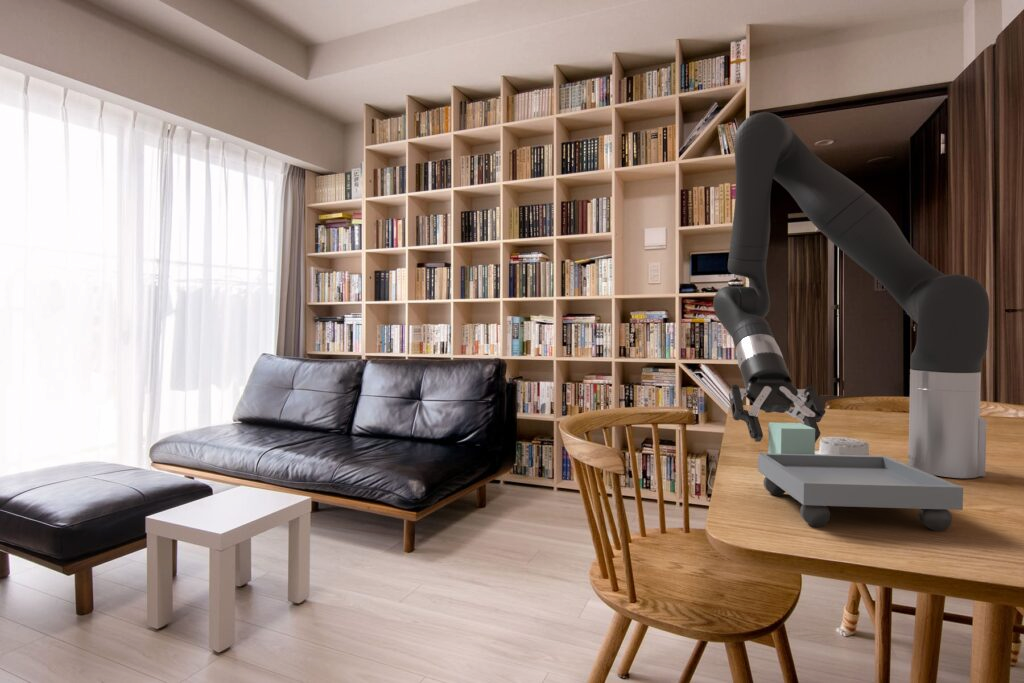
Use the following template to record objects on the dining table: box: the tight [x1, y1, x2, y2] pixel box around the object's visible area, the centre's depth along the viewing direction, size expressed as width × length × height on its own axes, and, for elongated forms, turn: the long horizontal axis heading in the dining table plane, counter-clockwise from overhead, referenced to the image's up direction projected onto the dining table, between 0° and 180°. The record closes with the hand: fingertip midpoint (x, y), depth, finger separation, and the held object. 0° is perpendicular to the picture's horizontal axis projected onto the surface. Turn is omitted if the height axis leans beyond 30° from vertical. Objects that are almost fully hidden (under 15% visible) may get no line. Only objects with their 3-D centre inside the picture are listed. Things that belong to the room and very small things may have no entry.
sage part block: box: [767, 421, 816, 454], centre depth 83 cm, size 5×5×9 cm
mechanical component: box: [815, 436, 870, 456], centre depth 94 cm, size 10×4×10 cm
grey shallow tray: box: [757, 452, 964, 532], centre depth 70 cm, size 18×15×6 cm
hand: (786, 440), depth 84 cm, fingers open, 8 cm apart
